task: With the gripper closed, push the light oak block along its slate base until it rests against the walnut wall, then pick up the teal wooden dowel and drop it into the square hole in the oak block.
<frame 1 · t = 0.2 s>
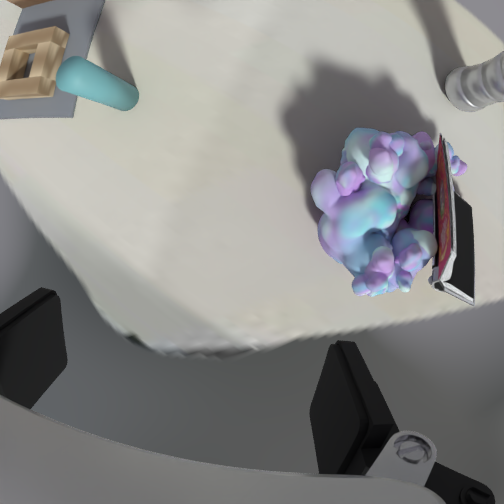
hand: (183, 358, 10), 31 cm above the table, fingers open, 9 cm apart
plastic bottle: (457, 92, 34), on the table
dowel: (126, 97, 36), on the table
oak block: (29, 64, 32), point 3 cm above the table, slide at 7.0 cm
slate base: (45, 46, 34), on the table
cotton candy cloud: (388, 206, 39), on the table
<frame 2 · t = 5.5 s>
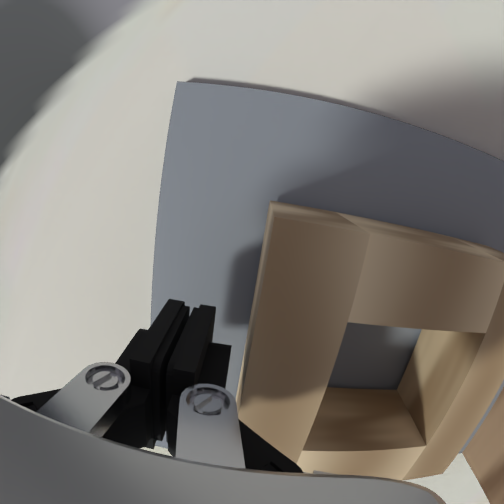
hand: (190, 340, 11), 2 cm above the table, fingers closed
oak block: (380, 366, 11), point 3 cm above the table, slide at 5.9 cm, touching gripper
slate base: (410, 336, 14), on the table
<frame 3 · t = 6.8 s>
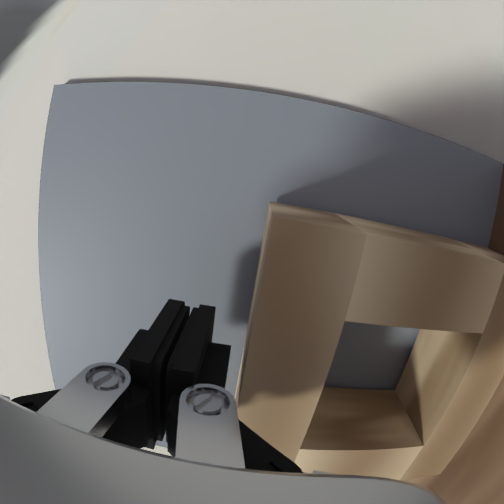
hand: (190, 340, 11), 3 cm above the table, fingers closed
oak block: (377, 366, 11), point 3 cm above the table, slide at -0.1 cm, touching gripper
slate base: (286, 323, 14), on the table
walnut wall: (471, 340, 14), resting on slate base
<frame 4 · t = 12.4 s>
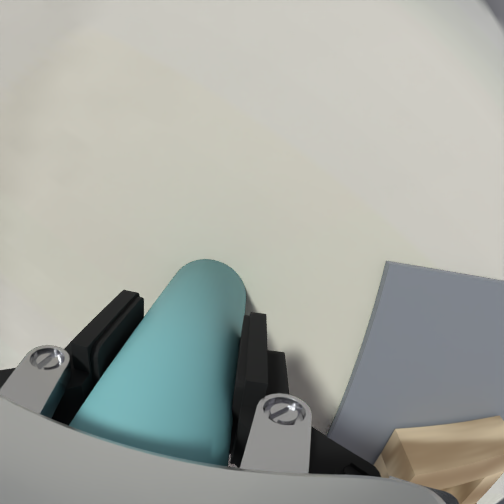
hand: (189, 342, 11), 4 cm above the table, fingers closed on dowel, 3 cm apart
dowel: (207, 296, 15), on the table, touching gripper
oak block: (431, 486, 16), point 3 cm above the table, slide at 0.0 cm
slate base: (439, 433, 17), on the table
when the fingers open (6 cm above the table, at t = 17.9 s): dowel drops 1 cm, resting on slate base.
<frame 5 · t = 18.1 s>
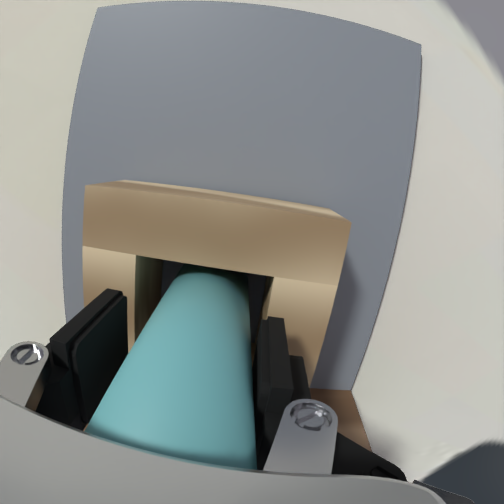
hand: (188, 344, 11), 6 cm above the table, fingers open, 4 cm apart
dowel: (212, 285, 16), point 1 cm above the table, touching gripper, slate base
oak block: (204, 307, 14), point 3 cm above the table, slide at 0.0 cm
slate base: (220, 224, 16), on the table
walnut wall: (202, 388, 19), resting on slate base
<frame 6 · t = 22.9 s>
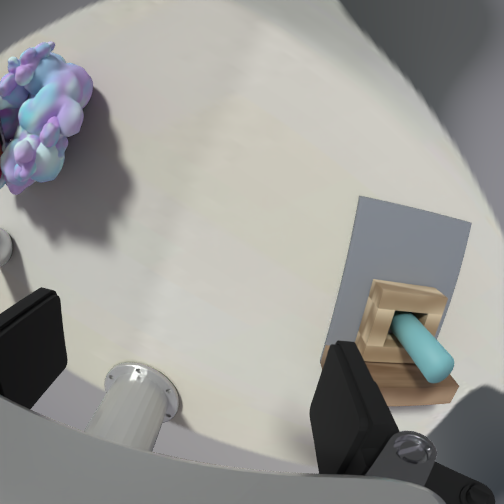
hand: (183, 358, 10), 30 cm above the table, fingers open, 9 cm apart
plastic bottle: (4, 243, 41), on the table
dowel: (395, 314, 41), point 1 cm above the table, touching slate base
oak block: (400, 323, 39), point 3 cm above the table, slide at 0.0 cm
slate base: (400, 293, 41), on the table
cotton candy cloud: (45, 123, 37), on the table
walnut wall: (379, 356, 44), resting on slate base
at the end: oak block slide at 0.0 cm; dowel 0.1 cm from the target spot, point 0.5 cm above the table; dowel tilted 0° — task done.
